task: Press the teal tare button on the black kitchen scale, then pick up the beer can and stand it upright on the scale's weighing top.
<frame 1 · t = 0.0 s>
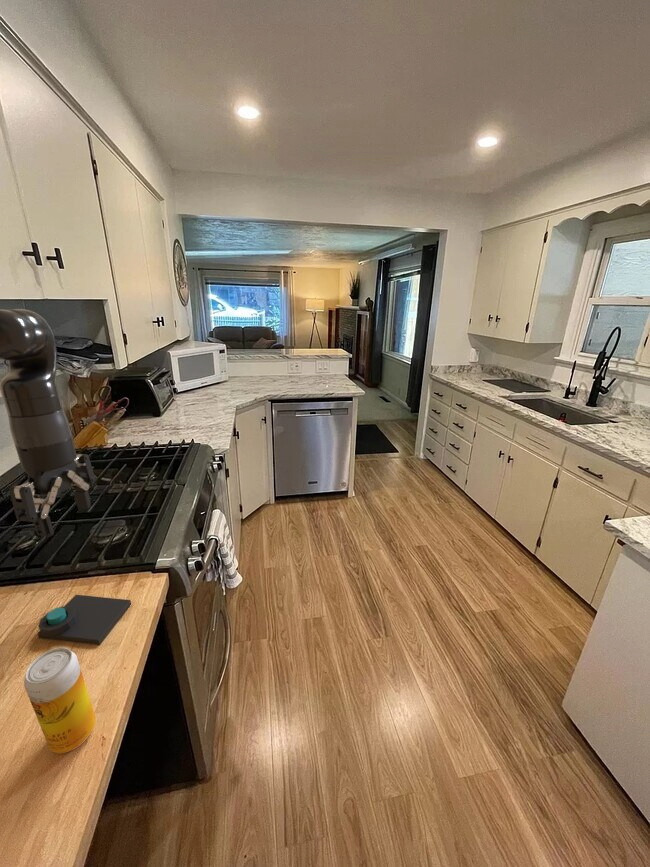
hand: (66, 521, 64), 26 cm above the countertop, tool pointing down, fingers open, 8 cm apart
tare button: (56, 616, 72), point 3 cm above the countertop, slide at 0.1 cm
beer can: (74, 734, 55), on the countertop
scale: (87, 620, 75), on the countertop
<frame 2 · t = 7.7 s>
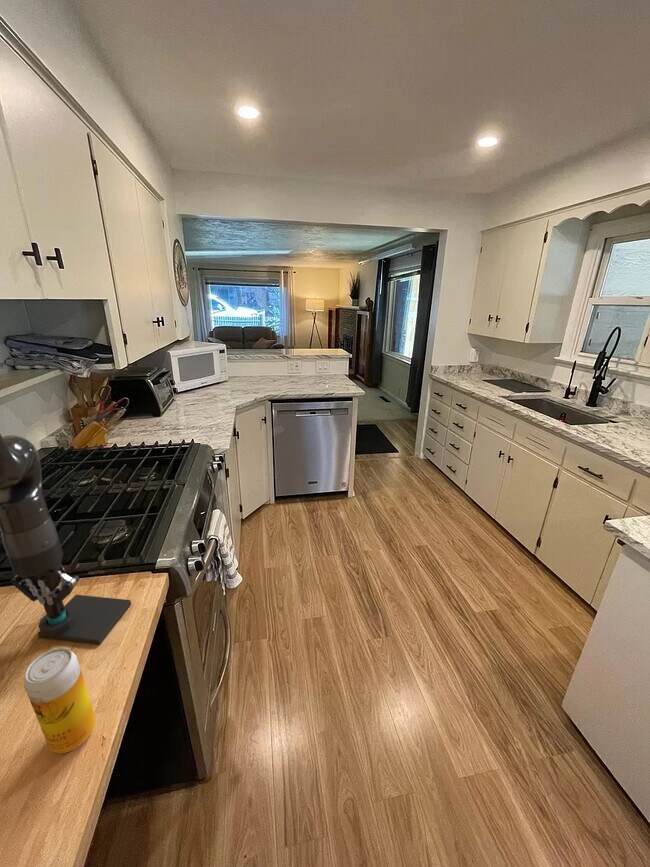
hand: (56, 614, 71), 4 cm above the countertop, tool pointing down, fingers closed
tare button: (57, 617, 72), point 3 cm above the countertop, slide at -0.2 cm, touching gripper
everything else where it was.
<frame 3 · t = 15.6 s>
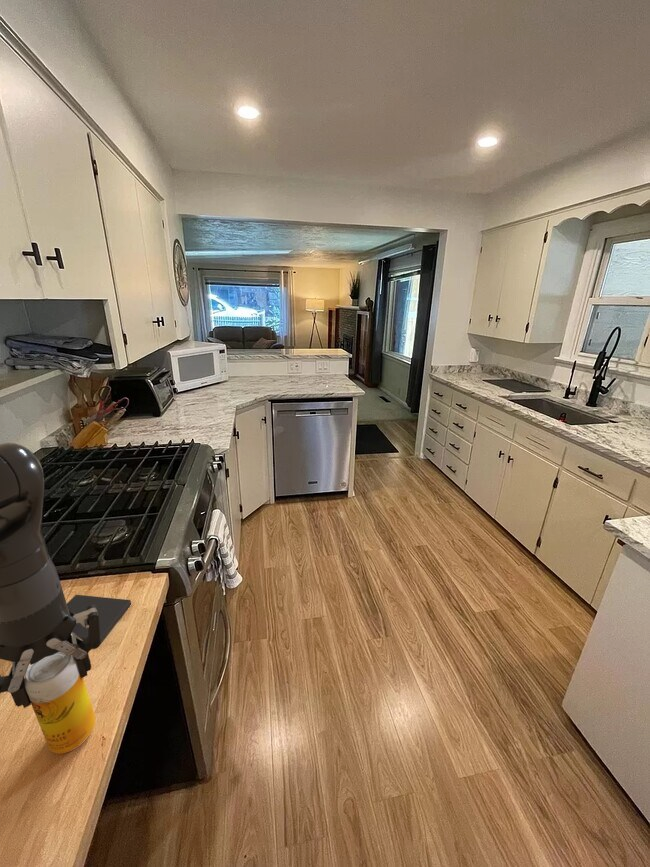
hand: (56, 686, 52), 11 cm above the countertop, tool pointing down, fingers closed on beer can, 6 cm apart
tare button: (56, 616, 72), point 3 cm above the countertop, slide at 0.1 cm
beer can: (73, 734, 55), on the countertop, touching gripper
when the fingers open (12 cm above the countertop, at t = 23.9 s): beer can stays where it is, resting on scale.
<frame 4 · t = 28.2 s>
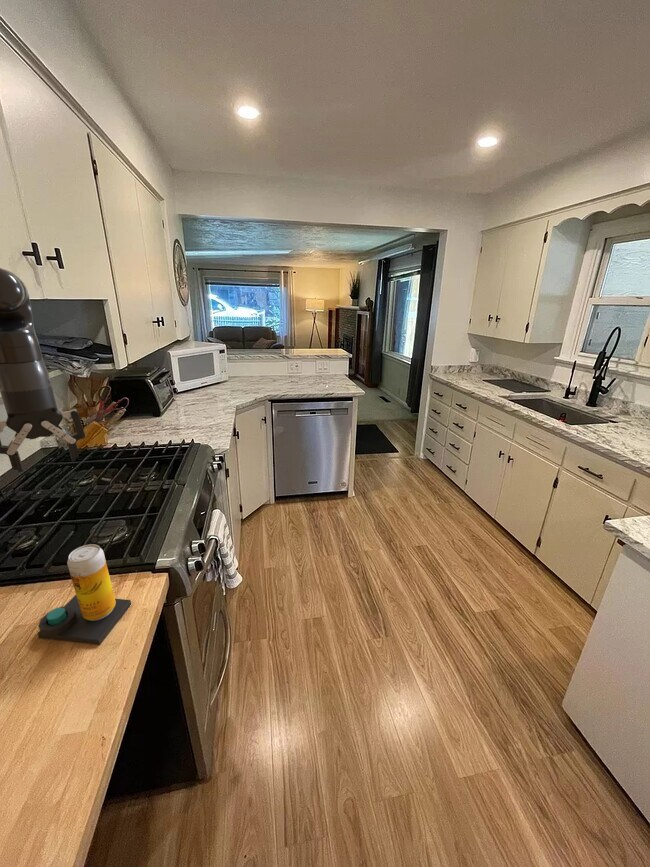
hand: (48, 464, 71), 32 cm above the countertop, tool pointing down, fingers open, 8 cm apart
beer can: (100, 611, 75), point 1 cm above the countertop, touching scale
everything else where it was.
at the end: tare button pushed in 1.1 cm at the most during the clip, back to where it started at the end; beer can inside the target area on the scale (2.4 cm from its centre), point 1.2 cm above the scale's base; beer can touching scale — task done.
